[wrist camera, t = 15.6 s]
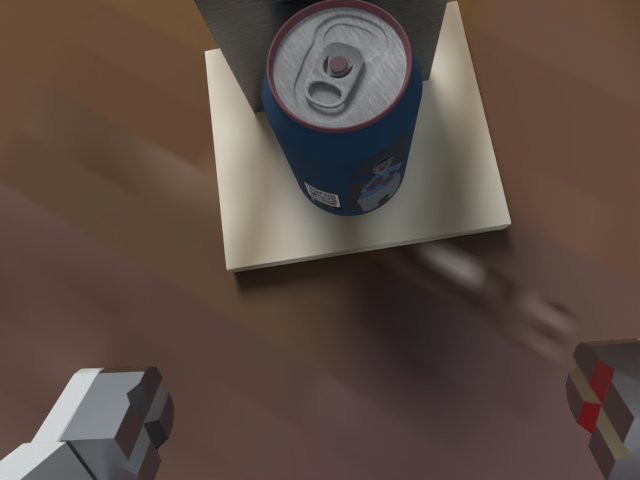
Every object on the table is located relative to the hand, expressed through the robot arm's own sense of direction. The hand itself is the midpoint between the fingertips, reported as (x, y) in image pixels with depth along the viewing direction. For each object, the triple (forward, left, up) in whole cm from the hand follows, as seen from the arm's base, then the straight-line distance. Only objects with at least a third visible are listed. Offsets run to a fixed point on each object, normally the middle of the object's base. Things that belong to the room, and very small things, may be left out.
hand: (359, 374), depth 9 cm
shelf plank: (+1, +14, -20) cm, 24 cm away
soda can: (+1, +11, -19) cm, 22 cm away
